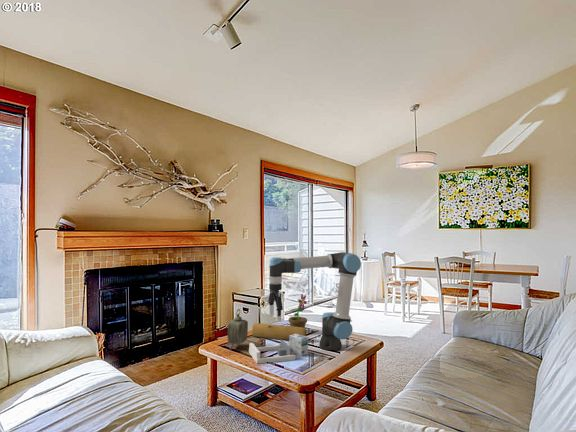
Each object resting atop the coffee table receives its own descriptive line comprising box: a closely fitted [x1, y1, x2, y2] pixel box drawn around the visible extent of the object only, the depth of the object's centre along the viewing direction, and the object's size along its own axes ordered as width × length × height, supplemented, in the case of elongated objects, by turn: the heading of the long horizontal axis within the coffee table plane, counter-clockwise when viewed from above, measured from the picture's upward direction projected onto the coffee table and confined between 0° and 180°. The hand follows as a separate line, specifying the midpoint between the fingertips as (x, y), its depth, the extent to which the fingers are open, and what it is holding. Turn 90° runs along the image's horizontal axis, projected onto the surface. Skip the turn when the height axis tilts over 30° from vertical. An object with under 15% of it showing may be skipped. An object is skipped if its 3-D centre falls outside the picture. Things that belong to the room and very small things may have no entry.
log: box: [251, 322, 308, 341], centre depth 255 cm, size 38×10×10 cm, turn 76°
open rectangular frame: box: [248, 342, 297, 364], centre depth 219 cm, size 24×20×6 cm
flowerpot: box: [288, 293, 308, 328], centre depth 271 cm, size 14×14×30 cm
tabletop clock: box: [227, 309, 249, 351], centre depth 233 cm, size 14×9×25 cm, turn 168°
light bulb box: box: [288, 334, 309, 357], centre depth 226 cm, size 11×7×11 cm, turn 47°
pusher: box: [276, 339, 293, 356], centre depth 222 cm, size 6×17×6 cm, turn 20°
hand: (274, 318), depth 213 cm, fingers open, 13 cm apart
